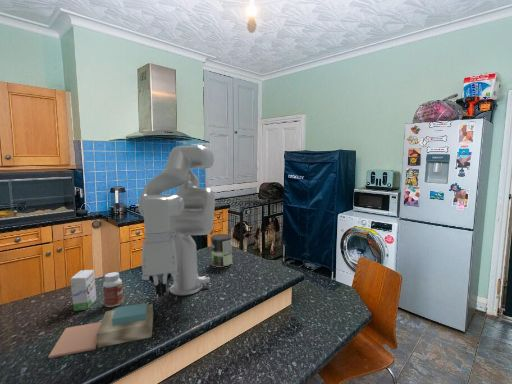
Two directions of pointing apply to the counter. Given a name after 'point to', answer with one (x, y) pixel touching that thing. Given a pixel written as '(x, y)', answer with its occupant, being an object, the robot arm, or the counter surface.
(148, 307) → the platform
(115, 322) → the tile
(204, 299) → the counter surface
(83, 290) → the ink box
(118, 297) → the pill bottle
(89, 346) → the mat
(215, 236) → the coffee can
